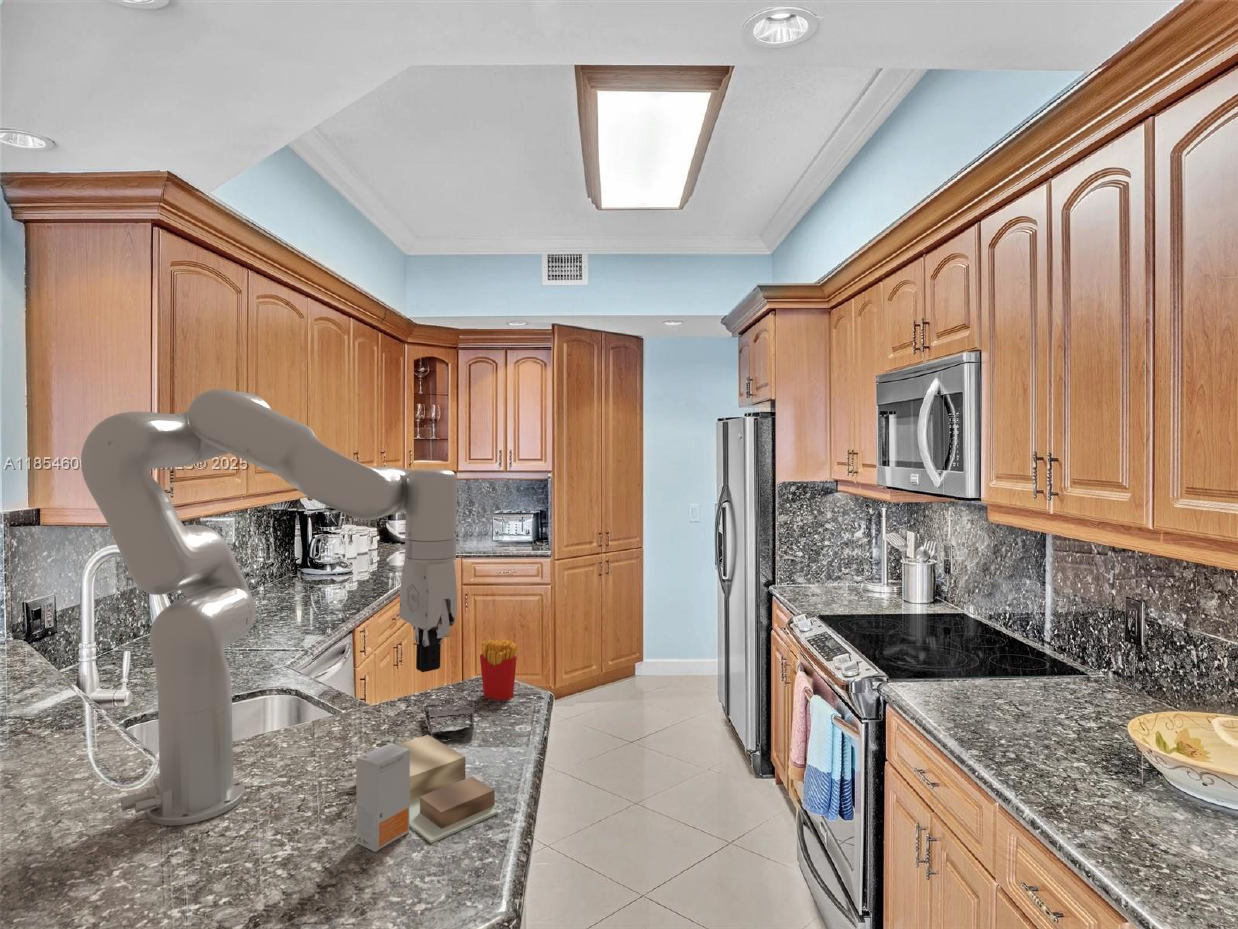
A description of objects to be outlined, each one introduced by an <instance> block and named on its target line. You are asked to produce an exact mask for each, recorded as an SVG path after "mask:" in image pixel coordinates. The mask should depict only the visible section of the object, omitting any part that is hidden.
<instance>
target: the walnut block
mask: <svg viewBox="0 0 1238 929" xmlns="http://www.w3.org/2000/svg"><path fill="white" fill-rule="evenodd" d="M495 795H496V794H495V789H493V788H492V787H491V786H489V785H488V784H486V783H484V782H482V781H481V780H480V779H478V778H475V777H474V776H470V777H467V778H466V779H464V780H462V781H459V782H457V783H454V784H451V785H449V786H446V787H444V788H441V789H439V790H436V791H434V792H431V793H428V794H426V795H423V796H421V797H420V813H421V814H422V815H423V816H425V817H426V818H427V819H429V820H430V821H431V822H433V823H434V824H435V825H437V826H438V827H439V828H441V829H442V828H445V827H447V826H449V825H451V824H454V823H456V822H458V821H461V820H463V819H465V818H467V817H470V816H472V815H474V814H477V813H479V812H481V811H484V810H486V809H488V808H490V807H492V808H494V807H495V806H496V805H495V802H496V800H495Z"/></svg>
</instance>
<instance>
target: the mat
mask: <svg viewBox="0 0 1238 929" xmlns="http://www.w3.org/2000/svg"><path fill="white" fill-rule="evenodd" d="M453 784H454V783H453ZM448 786H449V785H448ZM445 787H446V786H445ZM443 788H444V787H443ZM440 789H441V788H440ZM438 790H439V789H438ZM435 791H436V790H435ZM432 792H434V791H432ZM430 793H431V792H430ZM427 794H428V793H427ZM425 795H426V794H425ZM422 796H423V795H422ZM420 797H421V796H420ZM420 797H417V798H414V799H412V800H410V819H409V828H411V829H412V830H413V831H415V833H417V834H418V835H419V836H421V837H422V838H424V840H426V841H427V842H428V843H429V844H432V843H436V842H437V841H439V840H441V839H444V838H446V837H448V836H452V835H453V834H455V833H457V832H460V831H463V830H466V829H467V828H468V827H471V826H474V825H475V824H479V823H480V822H482V821H485V820H487V819H489V818H491V817H493V816H496V815H498V814H499V812H498V810H497V809H495V808H494V807H490V808H488V809H486V810H484V811H481V812H479V813H477V814H474V815H472V816H470V817H467V818H465V819H463V820H461V821H458V822H456V823H454V824H451V825H449V826H447V827H445V828H442V829H441V828H439V827H438V826H437V825H435V824H434V823H433V822H431V821H430V820H429V819H427V818H426V817H425V816H423V815H422V814H421V813H420Z"/></svg>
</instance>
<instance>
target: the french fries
mask: <svg viewBox="0 0 1238 929" xmlns="http://www.w3.org/2000/svg"><path fill="white" fill-rule="evenodd" d="M517 649H518V644H517V643H515V642H513V641H511V640H509V639H507V640H506V639H504V638H503V639H501V640H497V639H496V640H495V639H488V641H486V640H483V641H482V642H481V650H482V653H481V654H479V659H480V671H481V679H482V680H481V681H482V691H483V692H482V693H483V694H482V695H483V697H485V698H487V699H490V698H494V699H493V700H497V699H498V700H499V701H507V699H508V700H510V699H511V698H513V697H514V693H515V692H514V690H515V679H516V669H517V668H516V667H517V655H516V654H517Z"/></svg>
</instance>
